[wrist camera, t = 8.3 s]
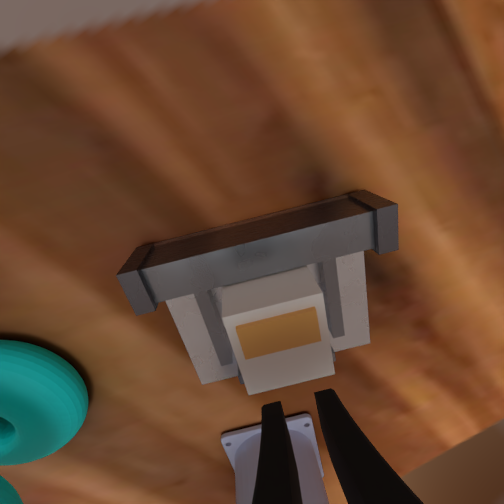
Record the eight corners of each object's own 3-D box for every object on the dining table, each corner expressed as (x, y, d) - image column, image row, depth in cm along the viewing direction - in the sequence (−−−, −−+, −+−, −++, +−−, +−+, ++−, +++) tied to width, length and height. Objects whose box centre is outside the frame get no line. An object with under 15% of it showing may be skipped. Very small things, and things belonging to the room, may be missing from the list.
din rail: (370, 336, 21) (400, 379, 18) (198, 379, 22) (193, 429, 18) (359, 187, 17) (397, 204, 13) (139, 243, 17) (116, 275, 13)
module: (305, 310, 19) (336, 378, 14) (242, 325, 19) (249, 399, 14) (293, 244, 17) (324, 295, 12) (222, 262, 17) (221, 321, 12)
